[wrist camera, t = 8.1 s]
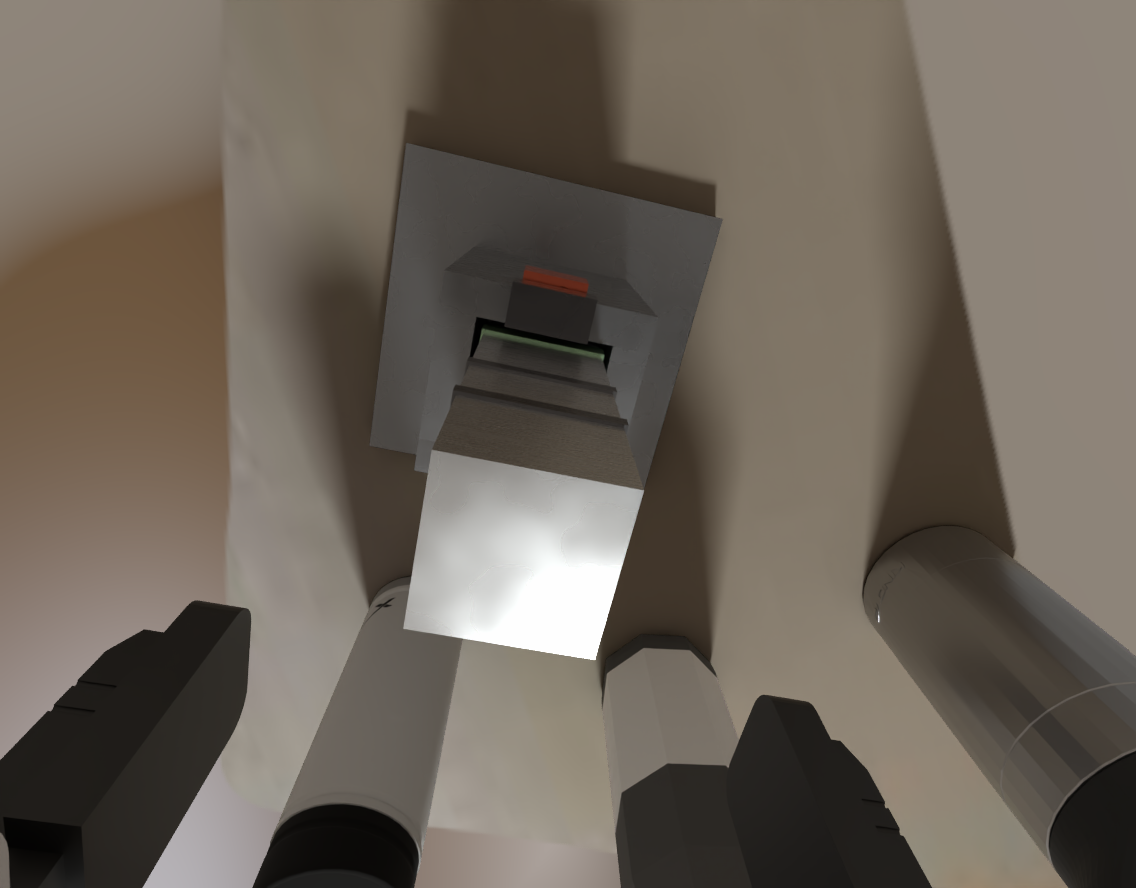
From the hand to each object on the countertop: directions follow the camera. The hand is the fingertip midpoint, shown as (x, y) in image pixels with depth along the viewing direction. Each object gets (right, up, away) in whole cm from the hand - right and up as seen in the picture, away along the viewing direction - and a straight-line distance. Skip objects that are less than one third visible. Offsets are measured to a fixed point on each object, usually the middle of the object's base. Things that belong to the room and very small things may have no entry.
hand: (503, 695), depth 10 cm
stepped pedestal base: (-1, +10, +26) cm, 28 cm away
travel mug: (-9, -7, +33) cm, 35 cm away
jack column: (-1, +8, +20) cm, 22 cm away
